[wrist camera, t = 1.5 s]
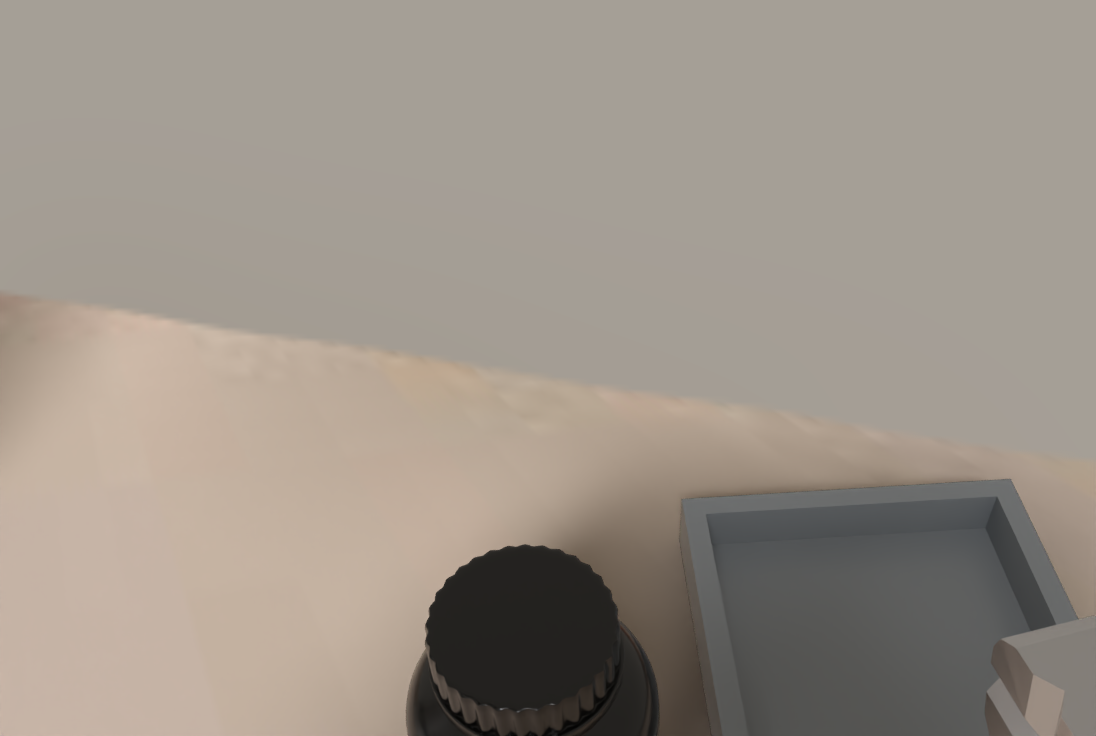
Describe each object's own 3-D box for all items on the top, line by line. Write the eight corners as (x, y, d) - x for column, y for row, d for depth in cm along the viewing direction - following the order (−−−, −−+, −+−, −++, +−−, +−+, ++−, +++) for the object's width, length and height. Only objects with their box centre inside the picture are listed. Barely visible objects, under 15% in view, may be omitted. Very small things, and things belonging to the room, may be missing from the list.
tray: (732, 862, 33) (738, 827, 31) (679, 539, 42) (681, 499, 40) (1138, 838, 33) (1166, 801, 31) (995, 520, 42) (1010, 478, 40)
